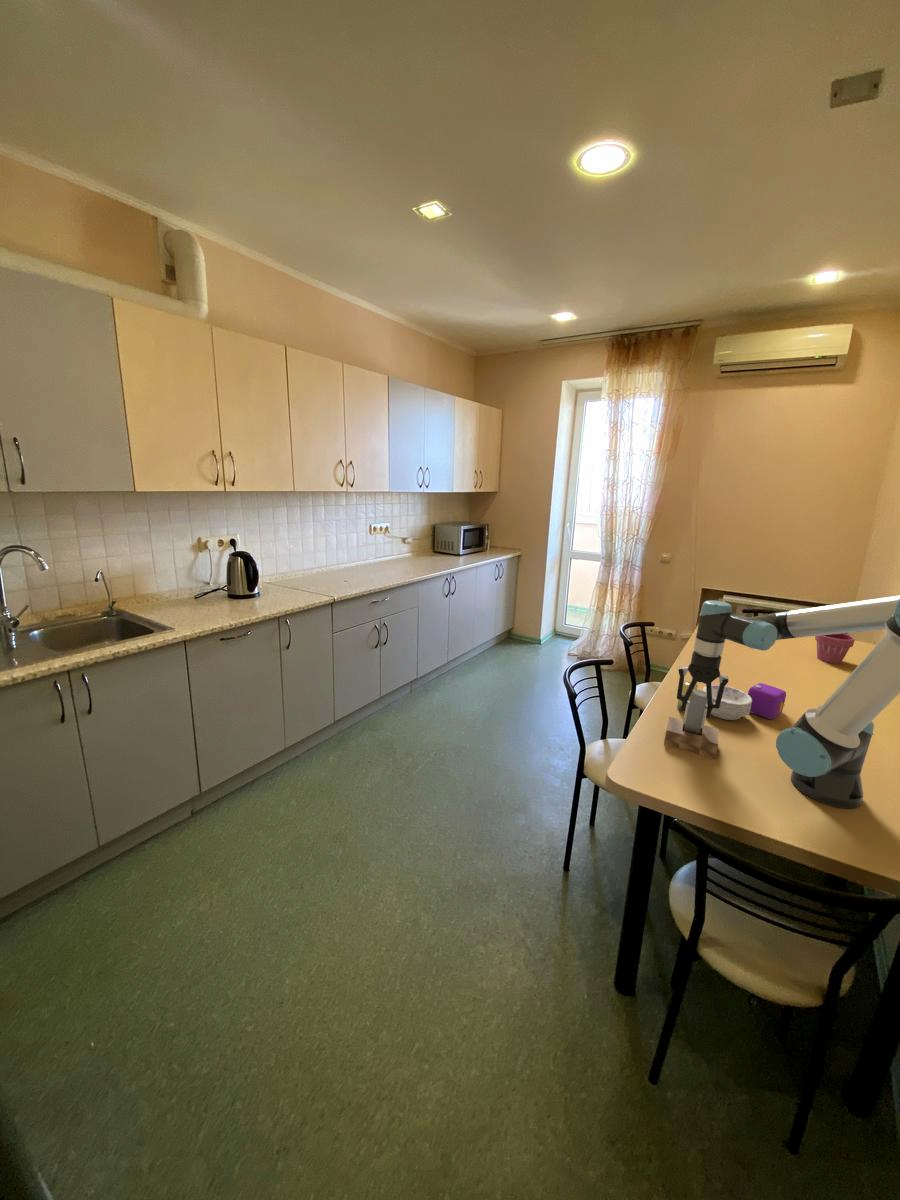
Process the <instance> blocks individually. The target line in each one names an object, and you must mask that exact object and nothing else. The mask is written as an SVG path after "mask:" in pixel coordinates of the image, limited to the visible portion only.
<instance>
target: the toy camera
mask: <svg viewBox="0 0 900 1200" xmlns="http://www.w3.org/2000/svg"><path fill="white" fill-rule="evenodd" d="M747 691H748V692H747V694H748V695H749V696H750V697H751V699H752V703H751V709H750V713H752V714H755V715H757V716H760V717H763V718H765V719H768V720H773V719H775V718H777V717H778V716H780V715H781V714H782V713H783V710H784V707H785V705H786V704H785V702H786V697H787V692H786V691H785V690H783V689H782V688H781V689H780V688H779V687H778V688H777V687H775V686H772V685H769V684H767V683H762V682H758V683H756V684H754V685H753V686H750V687H749V689H748V690H747Z"/></svg>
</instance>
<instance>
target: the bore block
mask: <svg viewBox="0 0 900 1200" xmlns="http://www.w3.org/2000/svg"><path fill="white" fill-rule="evenodd" d="M684 728H685V723H683V719H680V718H677V717H674V716H673V717H672V716H669V717H668V720H667V726H666V729H665V735H664V742H663V745H664V746H668V747H670V748H675V749H677V750H682V751H685V752H689V753H692V754H696V755H700V756H703V757H706V758H710V759H714V760H716V757H717V756H716V755H717V751H718V748H719V747H718V746H719V728H715V727H712V726H708V725H704V728H701V729H700V734H699V735H696V734H692V733H688V732H684Z"/></svg>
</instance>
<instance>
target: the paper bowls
mask: <svg viewBox="0 0 900 1200" xmlns="http://www.w3.org/2000/svg"><path fill="white" fill-rule="evenodd" d="M719 685H720V684H711V688H712V703H715V701H716V697H717V693H718V689H719ZM701 691H705V692H707V688H706V685H705V686H703V688H702V690H701ZM751 703H752V699H751V697H750V696H749V695H748V693H746V692H744V691H743V690H740V689H738V688H734V687H732V686H727V685H725V687H724V691H723V695H722V699H721V703H720V707H719V709H716V708H713V709H712V711H711V715H712V717H716V718H719V719H722V720H727V721H735V720H740V718H741V717H746V716H748V715H749V714H750V713H751V712H750V709H751ZM706 705H708V704H707V700H706Z"/></svg>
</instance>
